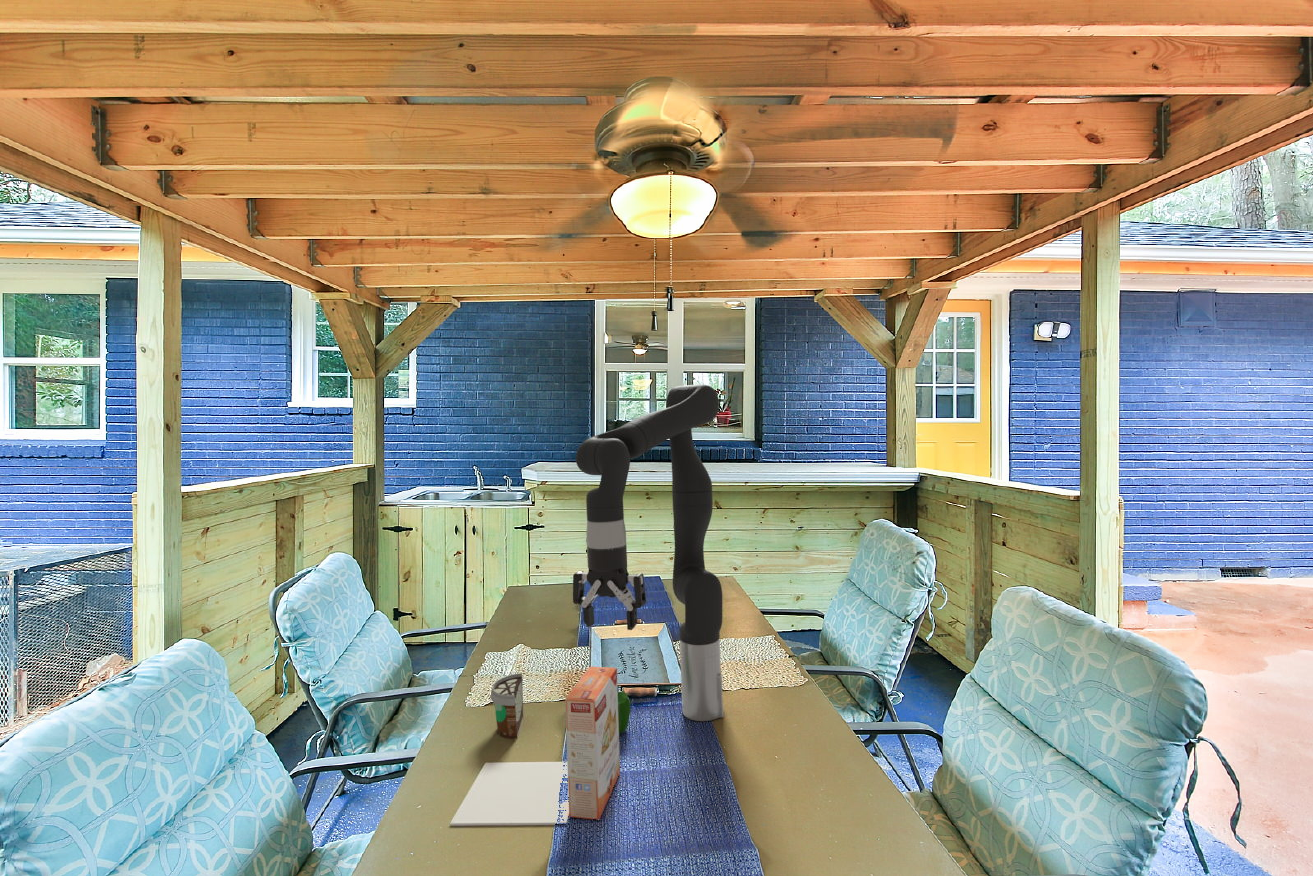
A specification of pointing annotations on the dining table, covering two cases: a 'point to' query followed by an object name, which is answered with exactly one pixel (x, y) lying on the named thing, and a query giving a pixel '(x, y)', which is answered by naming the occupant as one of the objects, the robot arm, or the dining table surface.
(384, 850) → the dining table surface
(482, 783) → the off-white mat
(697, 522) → the robot arm
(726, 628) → the dining table surface
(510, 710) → the food container
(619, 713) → the bell pepper
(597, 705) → the cracker box
